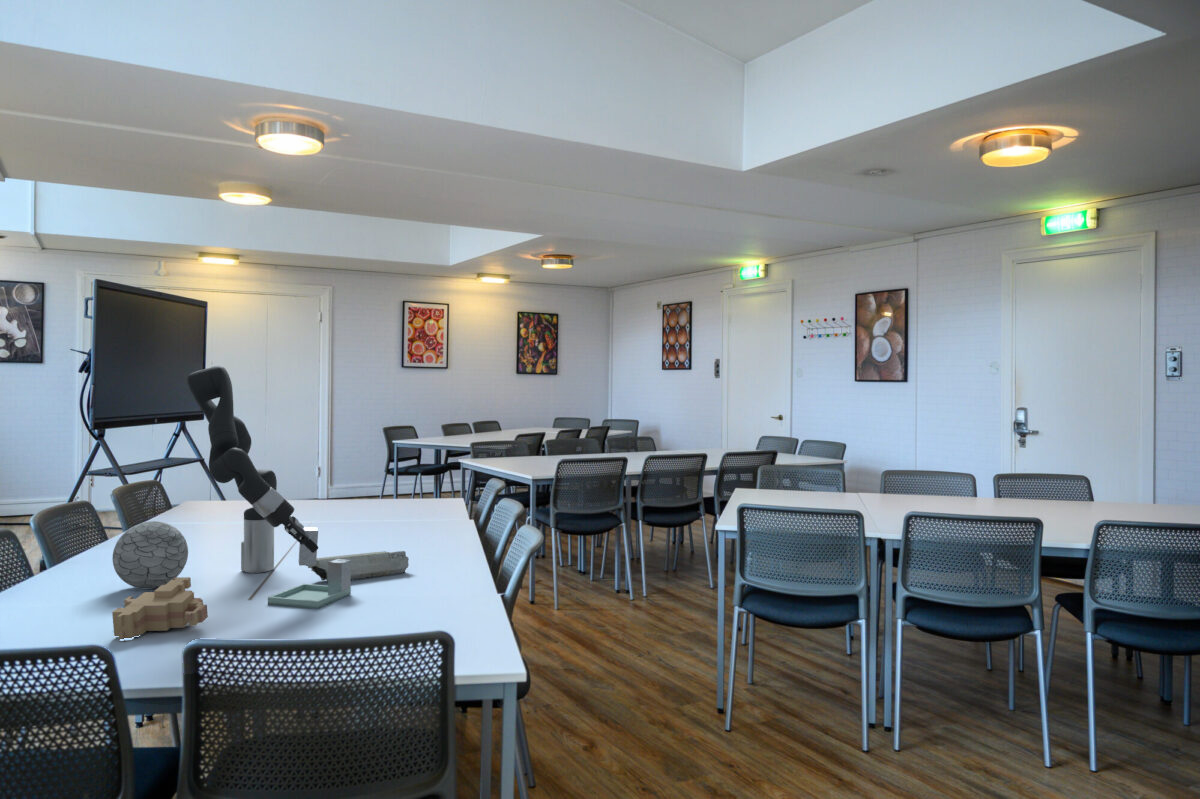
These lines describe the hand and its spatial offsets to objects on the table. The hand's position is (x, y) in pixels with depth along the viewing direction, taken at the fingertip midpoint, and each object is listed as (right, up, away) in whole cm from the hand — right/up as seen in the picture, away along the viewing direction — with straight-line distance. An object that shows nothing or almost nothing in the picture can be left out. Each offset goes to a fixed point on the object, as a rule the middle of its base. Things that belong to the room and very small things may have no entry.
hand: (315, 547), depth 230 cm
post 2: (+6, -14, +2) cm, 16 cm away
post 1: (-2, -4, 0) cm, 5 cm away
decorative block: (+5, -14, +24) cm, 29 cm away
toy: (-26, -15, -31) cm, 43 cm away
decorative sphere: (-53, -14, +9) cm, 55 cm away
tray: (-1, -14, -2) cm, 14 cm away
